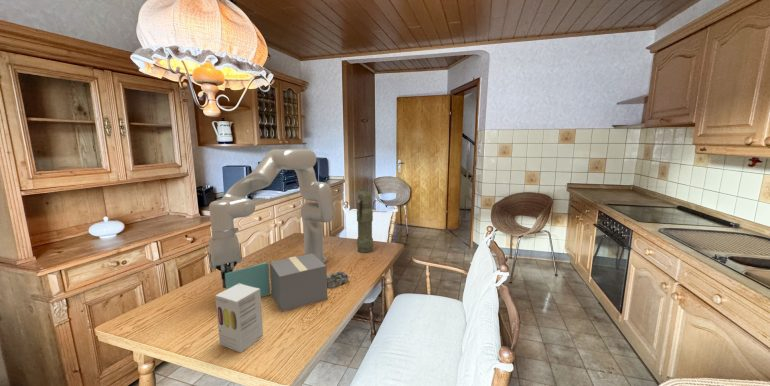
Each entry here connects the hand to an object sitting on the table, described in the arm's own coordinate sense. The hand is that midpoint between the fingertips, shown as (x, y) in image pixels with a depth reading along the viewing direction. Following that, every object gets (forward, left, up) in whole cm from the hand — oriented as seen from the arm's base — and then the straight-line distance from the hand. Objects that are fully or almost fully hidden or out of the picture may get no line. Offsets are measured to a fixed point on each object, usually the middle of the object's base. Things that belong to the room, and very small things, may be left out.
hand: (227, 279), depth 121 cm
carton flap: (-2, +6, -10) cm, 12 cm away
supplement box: (+26, +1, -10) cm, 28 cm away
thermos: (-24, +73, -10) cm, 77 cm away
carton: (+8, +25, -10) cm, 28 cm away
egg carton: (+5, +42, -11) cm, 44 cm away
